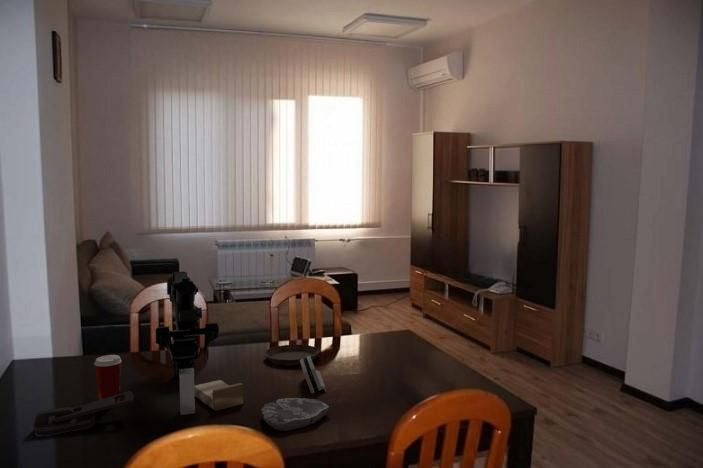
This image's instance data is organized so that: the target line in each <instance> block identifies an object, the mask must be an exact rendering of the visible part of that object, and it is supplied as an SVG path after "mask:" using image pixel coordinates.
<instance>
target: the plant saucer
mask: <svg viewBox="0 0 703 468" xmlns="http://www.w3.org/2000/svg"><path fill="white" fill-rule="evenodd" d="M319 353H320V349H319V348H318V347H316V346H312V345H308V344H285V345H282V344H281V345H279V346H277V345H276V346H274V347H271V348H268V349H266V350H265V351H264V356H265V358H266V359H267V360H268V361H270V362H271V363H272V364H275V365H280V366H286V367H287V366H290V367H291V366H293V367H294V366H301V363H300V360H301V359H302V358H303V359H304V358H305V361H306V358H307V356H310V357H311V359H312V361H313V360H315V359H316V358H317V357H318V356H319ZM306 363H307V361H306Z"/></svg>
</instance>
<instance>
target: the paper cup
mask: <svg viewBox="0 0 703 468" xmlns="http://www.w3.org/2000/svg"><path fill="white" fill-rule="evenodd" d="M93 365H94V366H95V373H96V374H95V375H96V384H97V385H96V386H97V395H98V400H101V399H104V398H108V397H111V396H114V395H118V394H121V371H122V370H121V367H122V359H121V357H120V355H117V354H108V355H102V356H100V357H97V358H96V359H95V361H94V363H93ZM116 402H121V398H119V399H116V400H115V403H116Z"/></svg>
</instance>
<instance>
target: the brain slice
mask: <svg viewBox="0 0 703 468" xmlns="http://www.w3.org/2000/svg"><path fill="white" fill-rule="evenodd" d="M329 407H330V406H329V405H328V404H327V403H325V402H322V401H321V400H319V399H315V398H304V397H303V398H299V397H287V398H278V399H276V400H275V402H268V403H265V404H264V403H263V405H262V407H261V409H260V411H261V415H262V419H263V421H264V422H266V424H267V425H268V426H270V427H272V428H273V429H274V430H275V431H280V432H282V431H283V432H287V431H291V430H296V429H303V428H304V427H307V426H311V425H314V424H316V422H318V421H319V420H321V419H322V418H323V417H324V416H325V415H326V413H327V412H328V410H329Z"/></svg>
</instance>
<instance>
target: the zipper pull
mask: <svg viewBox="0 0 703 468" xmlns="http://www.w3.org/2000/svg"><path fill="white" fill-rule="evenodd" d="M119 398H120V399H121V398H124V400H120V402H116V403H115V400H116V399H119ZM134 399H135V397H134V394H133V392H132V391H130V390H127V391H125V392H122V393H121V392H120V394H118V395H114V396H111V397H108V398H104V399H101V400H99V399H98V400H95V401H92V402H88V403H85V404H84V403H83V404H81V405H78V406H74V407H71V406H70V407H69V406H67V407H59V408H53V409H47V410H41V411H39V412H37V414H36V415H35V418H34V419H35V420H34V423H33V424H34V425H33V433H34V432H35V433H36V434H37V435H42V436H49V435H54V436H57V435H56V434H59V435H62V434H61V433H64V434H66V433H65V432H69V433H71V432H70V431H74V432H78V431H77V430H79V431H83V430H84V429H85V430H88V429H91V428H92V427H94V426H96V415H95V414H94V413H97V412H102V411H105V410H110V409H115V408H117V407H121V406H122V407H123V406H126V405H129V404H132V403H133V402H134ZM49 437H50V436H49Z"/></svg>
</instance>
